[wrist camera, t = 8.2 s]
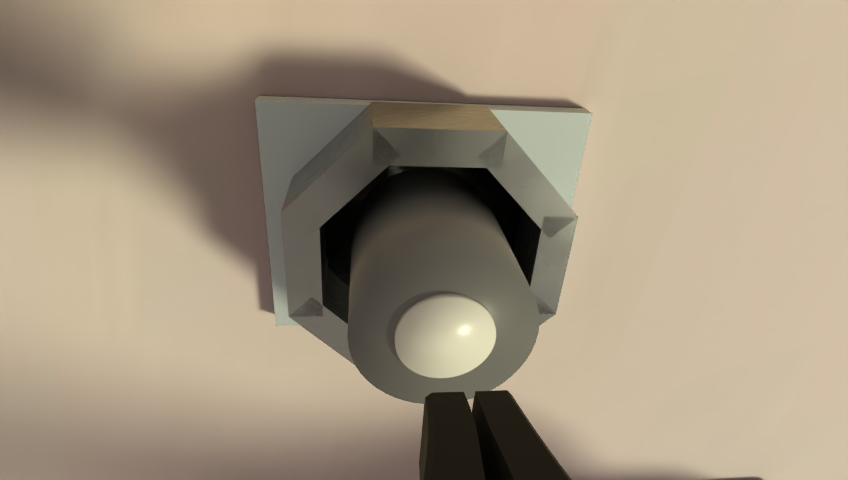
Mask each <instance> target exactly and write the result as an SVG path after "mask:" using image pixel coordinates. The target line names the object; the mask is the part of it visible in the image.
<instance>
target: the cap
mask: <svg viewBox="0 0 848 480" xmlns="http://www.w3.org/2000/svg"><path fill="white" fill-rule="evenodd" d="M538 330H539V310H538V306H537V302H536V299H535V297H534V294H533V292H532V290H531V288H530V286H529V284H528V282H527V280H526V278H525V276H524V274H523V272H522V270H521V268H520V266H519V264H518V262H517V260H516V258H515V256H514V254H513V252H512V250H511V248H510V246H509V244H508V242H507V240H506V238H505V236H504V234H503V232H502V230H501V228H500V226H499V224H498V222H497V220H496V218H495V216H494V214H493V212H492V209H491V207H490V205H489V203H488V202H487V200H486V198H485V197H484V195H483V194H482V193H481V191H480V190H479V189H478V188H477V187H476V186H475V185H474V184H473V183H471V182H470V181H468V180H467V179H465V178H464V177H462V176H460V175H458V174H456V173H453V172H450V171H447V170H442V169H436V168H417V169H411V170H407V171H403V172H400V173H397V174H395V175H393V176H391V177H389V178H387V179H385V180H384V181H382V182H380V183H379V184H378V185H377V186H375V187H374V188H373V189H372V190H371V191H370V192H369V193H368V194H367V195H366V197H365V198H364V200H363V201H362V202H361V204H360V206H359V208H358V210H357V212H356V215H355V218H354V222H353V227H352V246H351V268H350V290H349V312H348V334H347V338H348V347H349V351H350V354H351V357H352V359H353V361H354V363H355V366H356V367H357V368H358V370H359V371H360V373H361V374H362V375H363V376H364V377H365V378H366V379H367V380H368V381H369V382H370V383H371V384H372V385H374V386H375V387H376V388H378V389H379V390H381V391H383V392H384V393H386V394H389V395H391V396H393V397H395V398H398V399H402V400H405V401H409V402H414V403H421V404H424V403H425V397H426V396H428V395H429V394H430V393H433V392H464V393H465V396H466V399H471V398H474V396H475V391H490V390H492V389H494V388H495V387H497V386H499V385H500V384H502V383H503V382H505V381H506V380H507V379H508V378H510V377H511V376H512V375H513V374H514V373H515V372H516V371H517V370H518V369H519V368H520V367H521V366H522V364H523V363H524V362H525V361H526V359H527V358H528V356H529V354H530V353H531V351H532V349H533V346H534V344H535V342H536V338H537V335H538Z"/></svg>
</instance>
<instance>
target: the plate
mask: <svg viewBox="0 0 848 480" xmlns="http://www.w3.org/2000/svg"><path fill="white" fill-rule="evenodd" d="M371 102H393V103H419V104H444V105H470V106H487V107H488V108H489V109H490V110H491V112H492V113H493V114H494V115H495V116H496V118H497V119H498V120H499V121H500V122H501V124H502V125H503V126H504V127H505V129H506V130H507V131H508V132H509V133H510V135H511V136H512V137H513V138H514V139H515V141H516V142H517V143H518V144H519V145H520V147H521V148H522V149H523V150H524V152H525V153H526V154H527V155H528V156H529V158H530V159H531V160H532V161H533V162H534V164H535V165H536V166H537V167H538V169H539V170H540V171H541V172H542V173H543V175H544V176H545V177H546V178H547V179H548V181H549V182H550V183H551V184H552V185H553V187H554V188H555V189H556V190H557V192H558V193H559V194H560V195H561V197H562V198H563V199H564V200H565V201H566V203H567V204H568V205H569V206H570V208H571V207H572V203H573V198H574V194H575V189H576V185H577V180H578V176H579V171H580V167H581V162H582V158H583V153H584V149H585V144H586V140H587V135H588V131H589V126H590V122H591V117H592V113H591V112H589V111H588V110H587V109H585V108H563V107H537V106H511V105H486V104H460V103H434V102H409V101H383V100H357V99H331V98H306V97H280V96H258V97H257V98H256V100H255V109H256V120H257V131H258V141H259V152H260V162H261V173H262V184H263V194H264V205H265V215H266V226H267V237H268V247H269V258H270V268H271V279H272V290H273V300H274V311H275V321H276V326H301V325H299V324H298V323H297V322H295V321H294V320H292V319H291V318H290V317H289V315H288V302H287V290H286V277H285V264H284V251H283V239H282V226H281V210H282V207H283V204H284V201H285V198H286V195H287V192H288V189H289V185H290V182H291V179H292V177H293V176H294V175H295V174H296V173H297V172H298V171H299V170H301V169H302V168H303V167H304V166H305V165H306V164H307V163H308V162H309V161H310V160H311V159H312V158H313V157H314V156H315V155H316V154H317V153H318V152H320V151H321V150H322V149H323V148H324V147H325V146H326V145H327V144H328V143H329V142H330V141H331V140H332V139H333V138H334V137H335V136H336V135H337V134H339V133H340V132H341V131H342V130H343V129H344V128H345V127H346V126H347V125H348V124H349V123H350V122H351V121H352V120H353V119H354V118H355V117H356V116H358V115H359V114H360V113H361V112H362V111H363V110H364V109H365V108H366V107H367V106H368V105H369V104H370V103H371ZM545 322H546V321H545Z"/></svg>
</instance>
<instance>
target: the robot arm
mask: <svg viewBox="0 0 848 480" xmlns="http://www.w3.org/2000/svg"><path fill="white" fill-rule="evenodd" d="M419 467H420V480H571V478H570V477H569V476H568V475H567V473H566V472H565V471H564V469H563V468H562V467H561V465H560V464H559V463H558V461H557V460H556V459H555V457H554V456H553V454H552V453H551V452H550V450H549V449H548V447H547V446H546V445H545V443H544V442H543V440H542V439H541V438H540V436H539V435H538V433H537V432H536V431H535V429H534V428H533V426H532V425H531V423H530V422H529V420H528V419H527V417H526V416H525V414H524V413H523V411H522V410H521V408H520V407H519V405H518V404H517V402H516V401H515V399H514V398H513V396H512V395H511V394H510V393H509V392H508V391H507V390H503V391H475V396H474V402H473V409H472V412H471V409H470V406H469V404H468V401H467V399H466V396H465V393H464V392H433V393H430V394H429V395H428V396H426V397H425V403H424V415H423V426H422V438H421V449H420V460H419Z"/></svg>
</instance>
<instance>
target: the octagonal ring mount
mask: <svg viewBox="0 0 848 480" xmlns="http://www.w3.org/2000/svg"><path fill="white" fill-rule="evenodd" d="M417 168H436V169H442V170H447V171H450V172H453V173H456V174H458V175H460V176H462V177H464V178H465V179H467V180H468V181H470V182H471V183H473V184H474V185H475V186H476V187H477V188H478V189H479V190H480V191H481V193H482V194H483V195H484V197H485V198H486V200H487V202H488V203H489V205H490V207H491V209H492V212H493V214H494V216H495V218H496V220H497V222H498V224H499V226H500V228H501V230H502V232H503V234H504V236H505V238H506V240H507V242H508V244H509V246H510V248H511V250H512V252H513V254H514V256H515V258H516V260H517V262H518V264H519V266H520V268H521V270H522V272H523V274H524V276H525V278H526V280H527V282H528V284H529V286H530V288H531V290H532V292H533V294H534V297H535V299H536V302H537V306H538V310H539V325H541V324H542V323H544V322H545V321H546V320H548V319H549V318H551V317H552V316H553V315H555V314H556V310H557V306H558V302H559V297H560V293H561V289H562V284H563V280H564V276H565V271H566V267H567V263H568V258H569V254H570V250H571V245H572V241H573V237H574V232H575V228H576V224H577V219H578V216H577V215H576V214H575V213H574V211H573V210H572V209H571V208H570V206H569V205H568V204H567V203H566V201H565V200H564V199H563V198H562V197H561V195H560V194H559V193H558V192H557V190H556V189H555V188H554V187H553V185H552V184H551V183H550V182H549V181H548V179H547V178H546V177H545V176H544V175H543V173H542V172H541V171H540V170H539V169H538V167H537V166H536V165H535V164H534V162H533V161H532V160H531V159H530V158H529V156H528V155H527V154H526V153H525V152H524V150H523V149H522V148H521V147H520V145H519V144H518V143H517V142H516V141H515V139H514V138H513V137H512V136H511V135H510V133H509V132H508V131H507V130H506V129H505V127H504V126H503V125H502V124H501V122H500V121H499V120H498V119H497V118H496V116H495V115H494V114H493V113H492V112H491V110H490V109H489V108H488V107H487V106H470V105H444V104H419V103H393V102H371V103H370V104H369V105H368V106H367V107H366V108H365V109H364V110H363V111H362V112H361V113H360V114H359V115H358V116H356V117H355V118H354V119H353V120H352V121H351V122H350V123H349V124H348V125H347V126H346V127H345V128H344V129H343V130H342V131H341V132H340V133H339V134H337V135H336V136H335V137H334V138H333V139H332V140H331V141H330V142H329V143H328V144H327V145H326V146H325V147H324V148H323V149H322V150H321V151H320V152H318V153H317V154H316V155H315V156H314V157H313V158H312V159H311V160H310V161H309V162H308V163H307V164H306V165H305V166H304V167H303V168H302V169H301V170H299V171H298V172H297V173H296V174H295V175H294V176H293V177H292V179H291V182H290V185H289V189H288V192H287V195H286V198H285V201H284V204H283V207H282V210H281V226H282V239H283V251H284V264H285V277H286V290H287V302H288V315H289V317H290V318H291V319H292V320H294V321H295V322H297V323H298V324H299V325H301V326H302V327H303V328H305V329H306V330H308V331H309V332H310V333H312V334H313V335H314V336H316V337H317V338H318V339H320V340H321V341H323V342H324V343H325V344H327V345H328V346H329V347H331V348H332V349H334V350H335V351H336V352H338V353H339V354H340V355H342V356H343V357H345V358H346V359H347V360H349V361H350V362H351V363H353V364H354V365H355V363H354V361H353V359H352V357H351V354H350V351H349V347H348V338H347V334H348V312H349V290H350V268H351V246H352V227H353V222H354V218H355V215H356V212H357V210H358V208H359V206H360V204H361V202H362V201H363V200H364V198H365V197H366V195H367V194H368V193H369V192H370V191H371V190H372V189H373V188H374V187H375V186H377V185H378V184H379V183H380V182H382V181H384V180H385V179H387V178H389V177H391V176H393V175H395V174H397V173H400V172H403V171H407V170H411V169H417Z"/></svg>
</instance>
